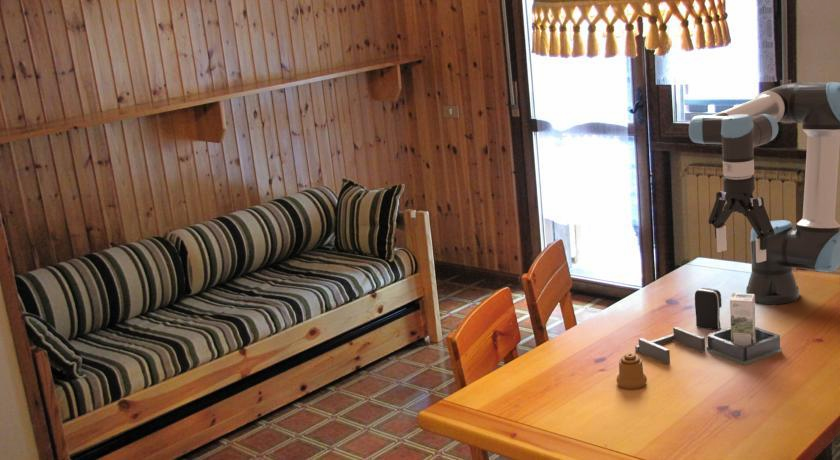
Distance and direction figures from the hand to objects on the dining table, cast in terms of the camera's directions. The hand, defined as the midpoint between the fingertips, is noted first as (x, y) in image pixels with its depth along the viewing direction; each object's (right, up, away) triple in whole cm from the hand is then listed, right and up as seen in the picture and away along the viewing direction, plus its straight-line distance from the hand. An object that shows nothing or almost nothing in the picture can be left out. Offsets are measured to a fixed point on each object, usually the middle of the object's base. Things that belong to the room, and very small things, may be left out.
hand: (741, 256), depth 241 cm
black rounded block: (0, -21, +26) cm, 33 cm away
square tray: (+3, -25, +6) cm, 26 cm away
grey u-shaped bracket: (-15, -26, +11) cm, 32 cm away
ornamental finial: (-29, -33, -5) cm, 44 cm away
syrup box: (+3, -25, +6) cm, 26 cm away
